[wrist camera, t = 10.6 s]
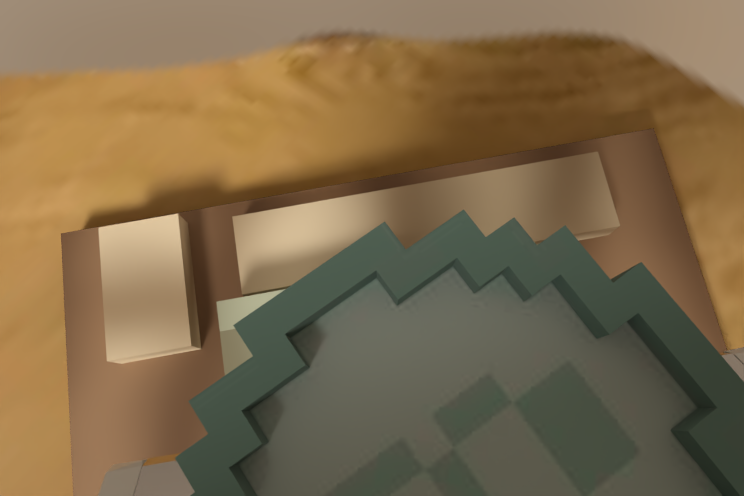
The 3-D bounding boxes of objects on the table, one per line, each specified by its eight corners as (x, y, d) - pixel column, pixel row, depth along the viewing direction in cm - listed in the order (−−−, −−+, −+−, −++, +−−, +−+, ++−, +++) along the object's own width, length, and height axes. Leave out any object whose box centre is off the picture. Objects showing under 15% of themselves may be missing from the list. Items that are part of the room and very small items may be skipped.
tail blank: (112, 236, 24) (98, 227, 23) (187, 223, 24) (178, 213, 23) (121, 363, 23) (107, 361, 21) (201, 349, 23) (191, 345, 21)
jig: (641, 141, 26) (689, 90, 22) (794, 611, 21) (891, 659, 17) (75, 241, 25) (16, 209, 21) (103, 748, 20) (33, 831, 16)
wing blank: (587, 163, 24) (597, 151, 23) (608, 235, 23) (620, 225, 22) (240, 226, 24) (232, 216, 23) (249, 300, 23) (241, 294, 22)
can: (538, 463, 20) (926, 596, 6) (390, 578, 20) (415, 1069, 5) (429, 315, 22) (524, 125, 7) (287, 418, 21) (67, 438, 6)
